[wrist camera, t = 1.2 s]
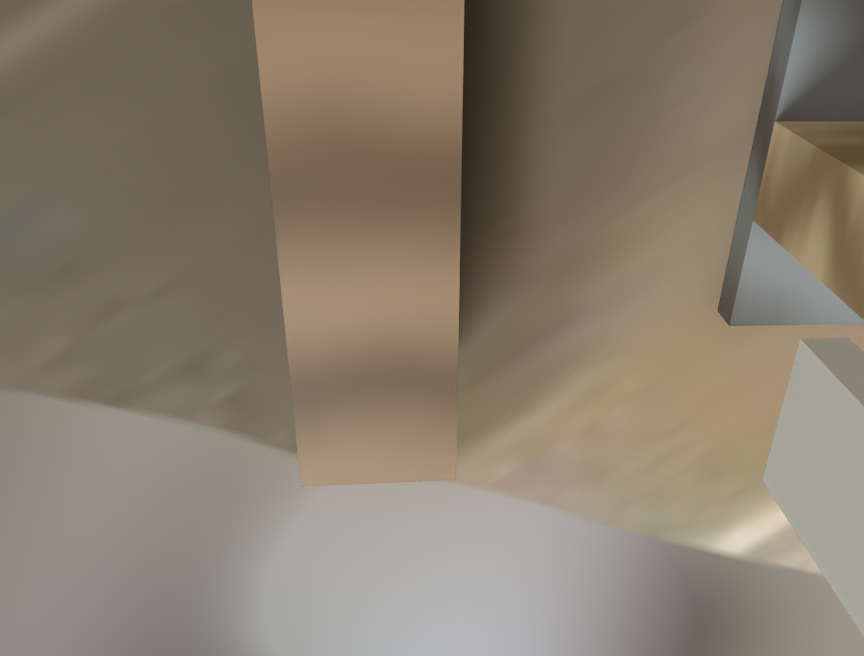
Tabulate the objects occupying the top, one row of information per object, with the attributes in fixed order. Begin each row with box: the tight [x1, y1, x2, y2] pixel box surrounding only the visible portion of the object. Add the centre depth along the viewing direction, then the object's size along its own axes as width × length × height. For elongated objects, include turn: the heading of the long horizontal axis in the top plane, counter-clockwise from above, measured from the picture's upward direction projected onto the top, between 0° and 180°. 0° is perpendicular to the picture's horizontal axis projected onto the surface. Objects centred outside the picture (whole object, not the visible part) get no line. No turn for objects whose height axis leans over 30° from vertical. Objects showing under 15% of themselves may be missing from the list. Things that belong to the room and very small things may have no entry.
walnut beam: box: [252, 0, 464, 487], centre depth 25 cm, size 20×5×7 cm, turn 0°
